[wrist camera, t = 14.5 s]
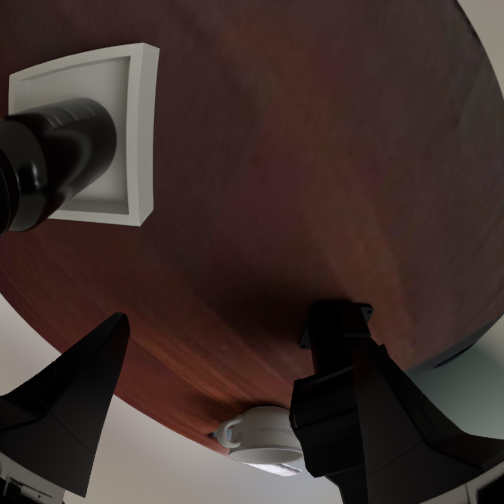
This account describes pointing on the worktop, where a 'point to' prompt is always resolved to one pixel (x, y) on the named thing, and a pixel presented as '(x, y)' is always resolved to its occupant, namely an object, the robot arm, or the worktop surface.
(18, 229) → the supplement bottle
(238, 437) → the teacup
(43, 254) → the worktop surface
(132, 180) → the tray
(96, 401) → the robot arm
